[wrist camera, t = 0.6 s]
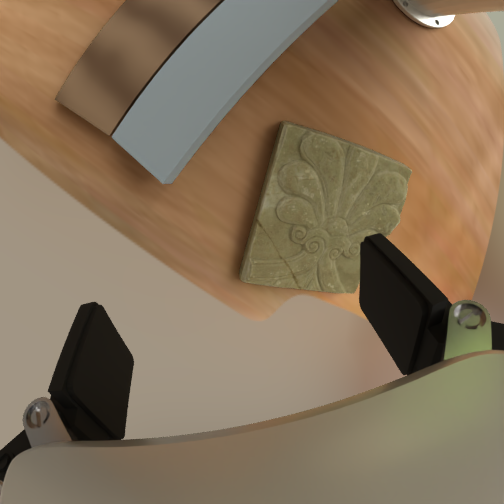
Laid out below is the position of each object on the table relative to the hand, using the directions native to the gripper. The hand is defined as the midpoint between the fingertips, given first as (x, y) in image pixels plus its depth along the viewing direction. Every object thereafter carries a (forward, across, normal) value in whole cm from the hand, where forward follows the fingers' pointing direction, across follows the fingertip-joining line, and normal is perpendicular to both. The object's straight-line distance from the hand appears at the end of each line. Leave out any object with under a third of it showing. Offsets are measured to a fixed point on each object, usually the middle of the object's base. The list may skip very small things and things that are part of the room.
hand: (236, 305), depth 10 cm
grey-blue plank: (+23, -3, -10) cm, 26 cm away
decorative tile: (+26, -12, +10) cm, 31 cm away
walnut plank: (+26, +2, -17) cm, 31 cm away
